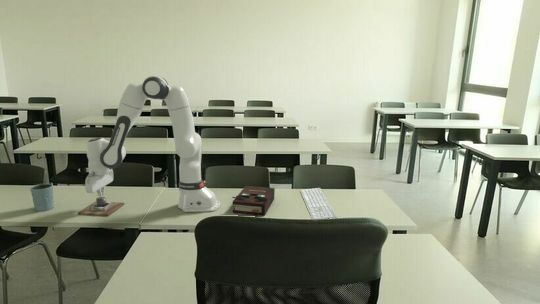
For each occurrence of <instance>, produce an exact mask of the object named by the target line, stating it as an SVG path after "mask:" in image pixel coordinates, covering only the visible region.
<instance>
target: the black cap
mask: <svg viewBox="0 0 540 304" xmlns="http://www.w3.org/2000/svg"><path fill="white" fill-rule="evenodd" d="M95 199H96V200H95V201H96V202H97V207H105V206H106V202H107V200H106V199H107V198H106V196H98V197H96V198H95Z"/></svg>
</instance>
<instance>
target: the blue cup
mask: <svg viewBox="0 0 540 304" xmlns="http://www.w3.org/2000/svg"><path fill="white" fill-rule="evenodd" d="M29 190H30V193H31V197H32V202H33V207H34V211H35V210H36V211H35V212H47V210H48V211H51V210H53V209H54V206H55V204H54V202H55V201H54V184H52V183H39V184H34V185H32V186H30V187H29ZM52 208H53V209H52ZM50 209H51V210H50Z"/></svg>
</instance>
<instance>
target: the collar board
mask: <svg viewBox="0 0 540 304" xmlns="http://www.w3.org/2000/svg"><path fill="white" fill-rule="evenodd" d="M124 205H125V203H124V202H119V201H118V202H116V201H115V202H114V201H106V206H105V207H97V202H96V200H95V201H94V202H92V203H90V204H89V205H88V206H86V207H84V208H83V209H81V210H80V211H78V212H77V215H84V216H85V215H86V216H98V217H99V216H100V217H109V216H111V215H112V214H113V213H115V212H117V210H119V209H120V208H122V207H123V206H124Z"/></svg>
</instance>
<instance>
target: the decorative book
mask: <svg viewBox="0 0 540 304" xmlns="http://www.w3.org/2000/svg"><path fill="white" fill-rule="evenodd" d="M275 190H276V189H275V187H266V186H264V187H263V186H253V185H252V186H251V185H245V186H244V187H243V188H242V190H241V191H239V193H238V195H236V196H232V197H231V199H233V200H232V205H233V206H232V208H233V209H232V213H233V214H238V215H239V214H241V215H251V216H262V217H265V216H266V215H267V213H268V211H269V209H270V207H271V205H272V204H273V201H274V200H275V194H276V193H275Z"/></svg>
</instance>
